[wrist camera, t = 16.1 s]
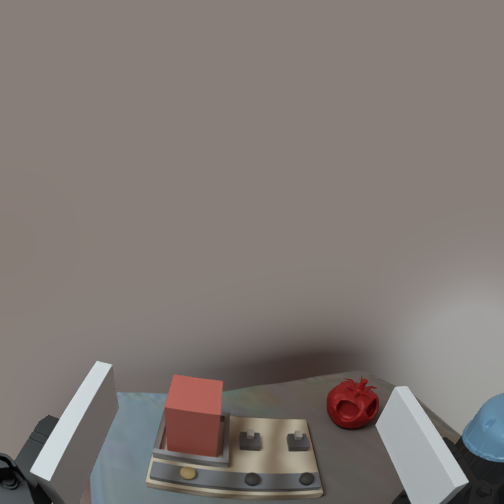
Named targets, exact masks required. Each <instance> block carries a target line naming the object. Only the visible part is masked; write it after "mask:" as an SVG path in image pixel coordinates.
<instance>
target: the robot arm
mask: <svg viewBox="0 0 504 504" xmlns="http://www.w3.org/2000/svg"><path fill="white" fill-rule="evenodd" d="M118 408H119V406H118V400H117V394H116V388H115V382H114V375H113V367H112V365H111V364H107V363H103V362H99V361H97V362H96V363H95V365H94V366H93V368H92V370H91V371H90V372H89V374H88V375H87V377H86V379H85V380H84V382H83V383H82V385H81V386H80V388H79V389H78V391H77V392H76V394H75V396H74V397H73V399H72V400H71V402H70V403H69V405H68V407H67V408H66V410H65V412H64V413H63V415H62V416H61V418H60V419H58V418H55V417H53V416H50V415H48V416H46V417H45V418H44V419H42V420H41V421H39V423H38V424H37V426H36V427H35V429H34V432H32V434H31V435H30V437H29V439H28V440H27V441H26V443H25V445H24V446H23V448H22V450H21V451H20V453H19V454H18V456H17V458H16V459H15V461H14V460H13V459H12V458H11V457H10V456H8V455H6V454H4V453H0V504H51V503H52V502H53V504H79V503H80V500H81V497H82V494H83V492H84V489H85V487H86V484H87V482H88V479H89V477H90V474H91V472H92V469H93V467H94V464H95V462H96V459H97V457H98V455H99V452H100V450H101V447H102V445H103V443H104V440H105V438H106V436H107V433H108V431H109V429H110V426H111V424H112V422H113V420H114V417H115V415H116V413H117V411H118ZM375 426H376V428H377V430H378V432H379V434H380V436H381V438H382V440H383V442H384V445H385V447H386V449H387V451H388V453H389V455H390V458H391V460H392V462H393V464H394V466H395V468H396V471H397V473H398V475H399V477H400V479H401V482H402V484H403V486H404V488H405V489H404V490H403V491H402V492H401V493H400V494H399V495H398V496H397V497H396V498H395V500H394V501H393V502H392V504H504V393H502V394H499V395H496V396H494V397H492V398H491V399H489V400H488V401H487V402H486V403H485V404H484V405H483V406H482V407H481V408H480V410H479V411H478V413H477V414H476V415H475V417H474V418H473V420H471V421H470V422H469V423H468V424H467V426H466V427H465V429H464V431H463V435H462V436H461V437H460V439H459V440H458V441H457V443H456V444H455V445H454V443H453V442H451V441H450V440H449V439H448V438H446V437H444V438H441V436H440V435H439V433H438V431H437V430H436V428H435V427H434V425H433V424H432V422H431V421H430V419H429V418H428V416H427V415H426V413H425V412H424V410H423V409H422V407H421V406H420V404H419V403H418V401H417V400H416V398H415V397H414V395H413V394H412V393H411V391H410V390H409V388H408V387H407V386H403V387H395V388H394V390H393V392H392V394H391V396H390V398H389V400H388V402H387V404H386V406H385V408H384V410H383V412H382V414H381V416H380V418H379V419H378V421H377V423H376V425H375Z"/></svg>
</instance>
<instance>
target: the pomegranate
mask: <svg viewBox="0 0 504 504" xmlns="http://www.w3.org/2000/svg"><path fill="white" fill-rule="evenodd" d="M344 379H345V378H344ZM346 380H349V381H344V382H342V383H340V384H339V385H338V386H336V387H334V388H333V389H332V390H331V391H330V392H329V394H328V397H327V412H328V414H329V416H330V418H331V419H332V420H333V422H334V423H335V424H337V425H338V426H340V427H343V428H359V427H362V426H364V425H365V424H367V423H368V422H370V421H371V420H372V419H373V418H374V416H375V414H376V412H377V409H378V405H379V399H378V396H377V395H376V394H375V393H374V392H373V391H372V390H370V388H377V387H373V386H369V387H366V386H365V385H366V384H367V382H368V381H367V380H366V379H362V377H361V382H360V383H356V382H353V380H352V379H346Z"/></svg>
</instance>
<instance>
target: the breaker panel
mask: <svg viewBox="0 0 504 504" xmlns="http://www.w3.org/2000/svg"><path fill="white" fill-rule="evenodd" d="M152 453H153V455H152V459H151V463H150V466H149V470H148V474H147V478H146V485H147V487H151V488H156V489H161V490H166V491H172V492H178V493H184V494H191V495H199V496H208V497H218V498H231V499H252V500H284V499H305V498H318V497H321V495H322V494H323V489H322V485H321V481H320V477H319V473H318V468H317V464H316V460H315V456H314V452H313V448H312V443H311V439H310V435H309V431H308V427H307V423H306V420H288V419H261V418H246V417H234V416H230V413H224V412H221V414H220V423H219V432H218V440H217V449H216V457H207V456H199V455H192V454H185V453H178V452H172V451H167V439H166V425H165V408H164V411H163V415H162V418H161V422H160V426H159V429H158V433H157V437H156V440H155V444H154V448H153V452H152Z"/></svg>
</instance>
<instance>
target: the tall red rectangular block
mask: <svg viewBox="0 0 504 504" xmlns="http://www.w3.org/2000/svg"><path fill="white" fill-rule="evenodd" d="M222 385H223V381H217V380H209V379H201V378H194V377H187V376H180V375H174V376H173V380H172V383H171V387H170V390H169V393H168V397H167V400H166V404H165V425H166V439H167V451H172V452H178V453H185V454H192V455H199V456H207V457H216V449H217V440H218V432H219V423H220V414H221V400H222Z"/></svg>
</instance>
